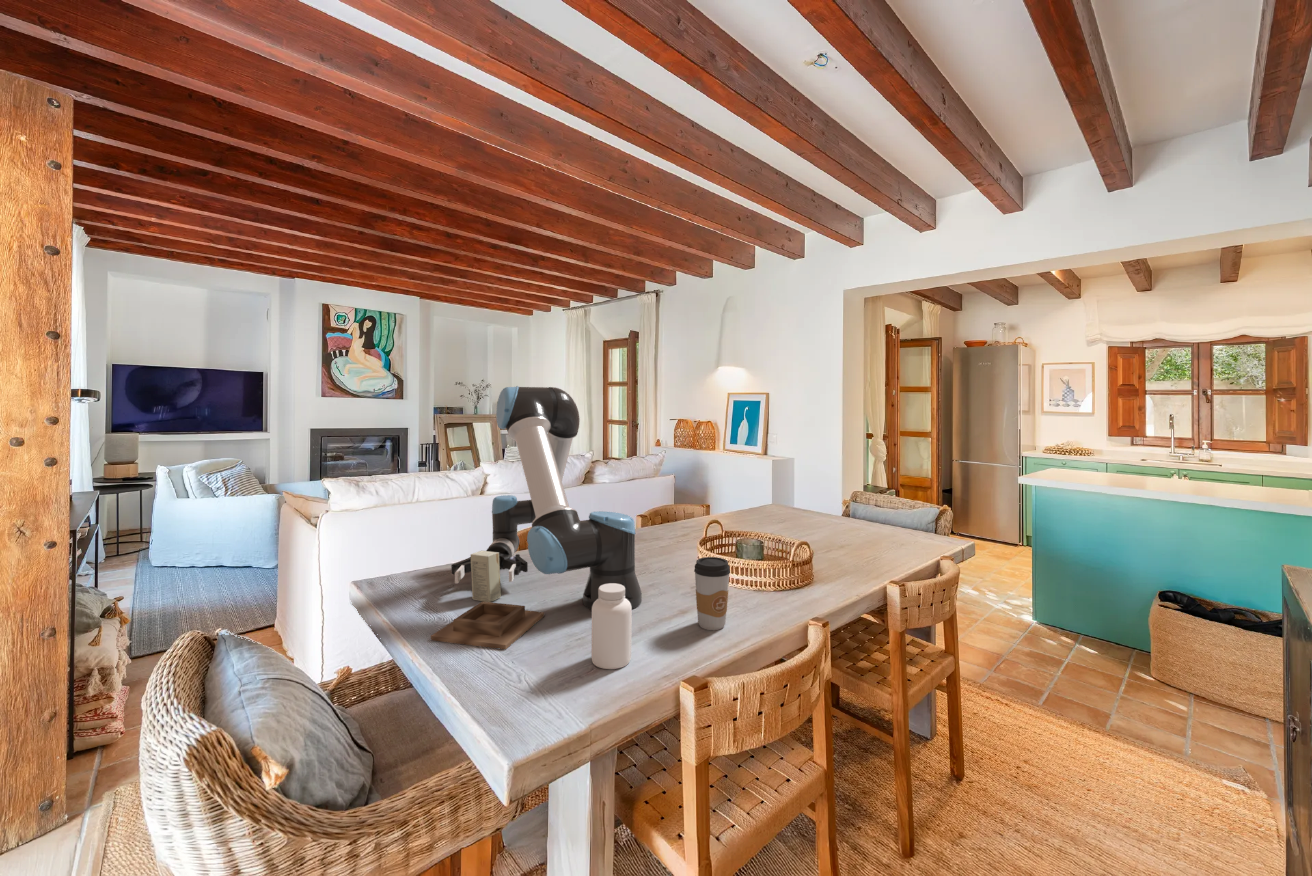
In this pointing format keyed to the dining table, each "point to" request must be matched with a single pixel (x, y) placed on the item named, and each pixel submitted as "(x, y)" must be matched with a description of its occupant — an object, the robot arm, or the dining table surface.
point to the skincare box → (485, 576)
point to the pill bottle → (611, 627)
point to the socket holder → (489, 625)
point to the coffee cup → (712, 591)
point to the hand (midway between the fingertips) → (483, 577)
